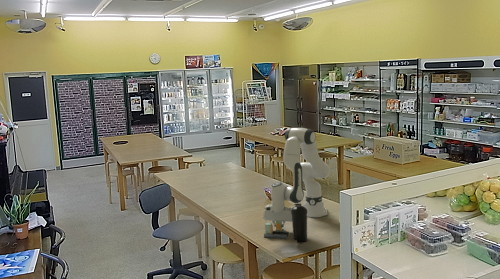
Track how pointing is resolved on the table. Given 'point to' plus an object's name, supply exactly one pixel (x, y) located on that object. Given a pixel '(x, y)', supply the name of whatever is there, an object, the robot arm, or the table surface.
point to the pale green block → (279, 226)
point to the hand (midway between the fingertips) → (279, 226)
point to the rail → (277, 235)
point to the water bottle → (299, 223)
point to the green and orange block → (268, 228)
